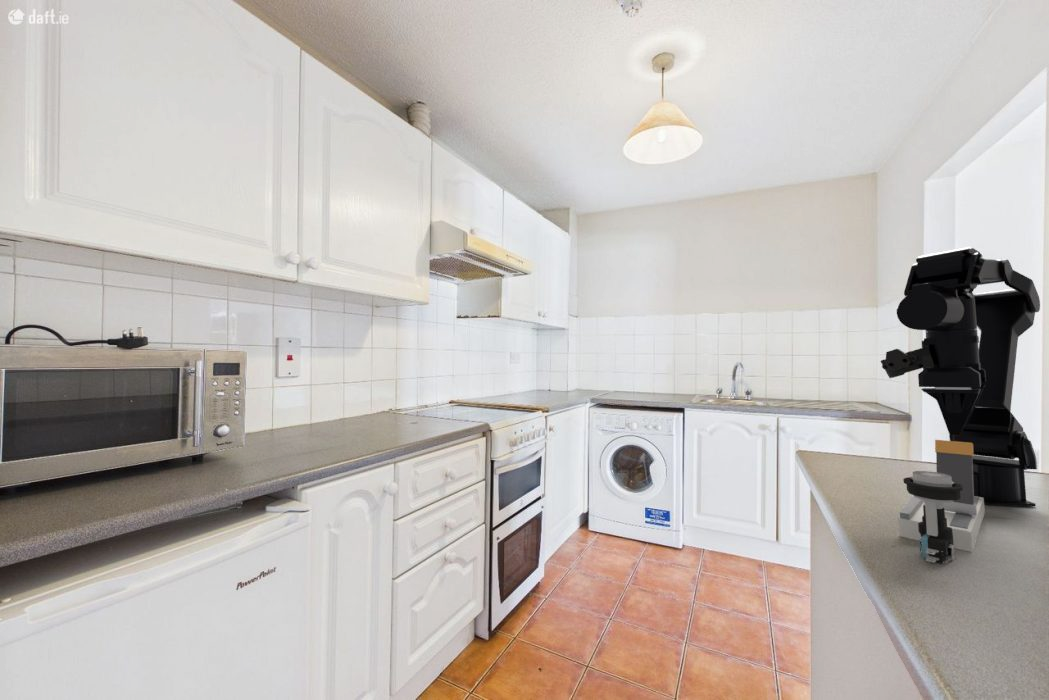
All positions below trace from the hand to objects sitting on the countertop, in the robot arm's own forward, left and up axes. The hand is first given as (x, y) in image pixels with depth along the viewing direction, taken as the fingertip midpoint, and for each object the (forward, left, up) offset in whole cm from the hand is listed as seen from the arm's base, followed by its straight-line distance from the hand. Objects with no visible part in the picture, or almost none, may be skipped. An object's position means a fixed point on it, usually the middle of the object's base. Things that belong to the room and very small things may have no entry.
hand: (957, 431), depth 66 cm
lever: (+5, +7, -10) cm, 13 cm away
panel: (+5, +4, -13) cm, 14 cm away
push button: (+14, +17, -13) cm, 25 cm away
